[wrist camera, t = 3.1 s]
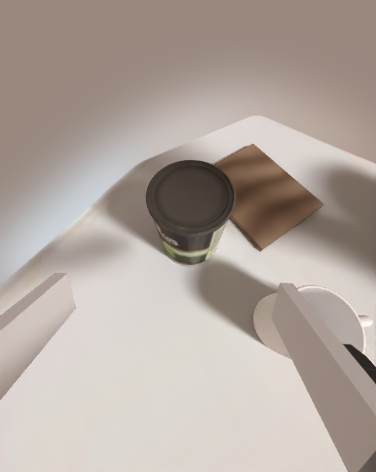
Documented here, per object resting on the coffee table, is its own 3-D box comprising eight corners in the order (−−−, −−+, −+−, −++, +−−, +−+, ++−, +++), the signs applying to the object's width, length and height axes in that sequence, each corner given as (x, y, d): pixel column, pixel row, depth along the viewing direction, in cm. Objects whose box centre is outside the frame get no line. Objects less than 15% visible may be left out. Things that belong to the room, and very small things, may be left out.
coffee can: (179, 277, 31) (171, 252, 18) (153, 230, 34) (131, 180, 22) (229, 249, 33) (255, 207, 20) (200, 207, 36) (205, 148, 23)
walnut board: (320, 207, 36) (324, 204, 35) (260, 251, 33) (262, 249, 31) (251, 148, 43) (253, 143, 41) (195, 178, 39) (196, 175, 38)
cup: (247, 295, 30) (273, 287, 20) (319, 290, 30) (378, 280, 20) (258, 355, 26) (295, 378, 17) (339, 349, 27) (420, 368, 17)
